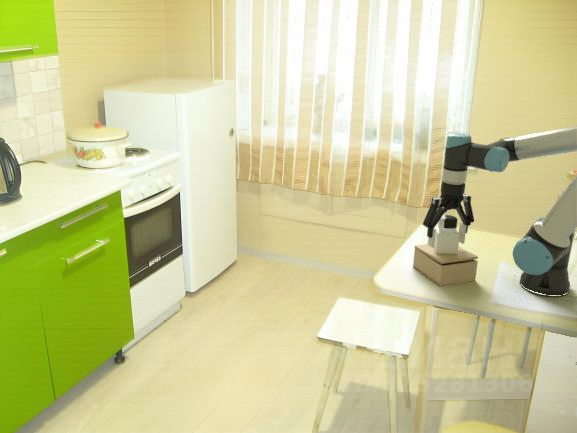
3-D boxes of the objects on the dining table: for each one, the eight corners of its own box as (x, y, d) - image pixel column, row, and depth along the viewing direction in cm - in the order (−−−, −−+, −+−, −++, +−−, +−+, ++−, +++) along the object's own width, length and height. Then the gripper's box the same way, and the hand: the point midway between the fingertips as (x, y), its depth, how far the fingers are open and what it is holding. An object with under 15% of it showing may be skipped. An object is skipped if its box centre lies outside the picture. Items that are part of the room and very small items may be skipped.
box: (475, 280, 204) (477, 261, 202) (439, 286, 199) (441, 266, 197) (446, 262, 218) (449, 243, 216) (412, 266, 213) (414, 248, 211)
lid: (477, 258, 202) (477, 256, 202) (441, 263, 197) (441, 261, 197) (448, 243, 216) (449, 241, 216) (414, 247, 211) (414, 245, 211)
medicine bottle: (454, 247, 210) (457, 213, 206) (457, 254, 203) (461, 220, 199) (432, 246, 210) (435, 213, 207) (435, 253, 203) (438, 219, 200)
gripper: (476, 175, 206) (468, 236, 213) (415, 181, 198) (409, 244, 205) (491, 181, 199) (482, 244, 207) (429, 187, 191) (421, 252, 198)
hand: (446, 244), depth 206 cm, fingers open, 11 cm apart
